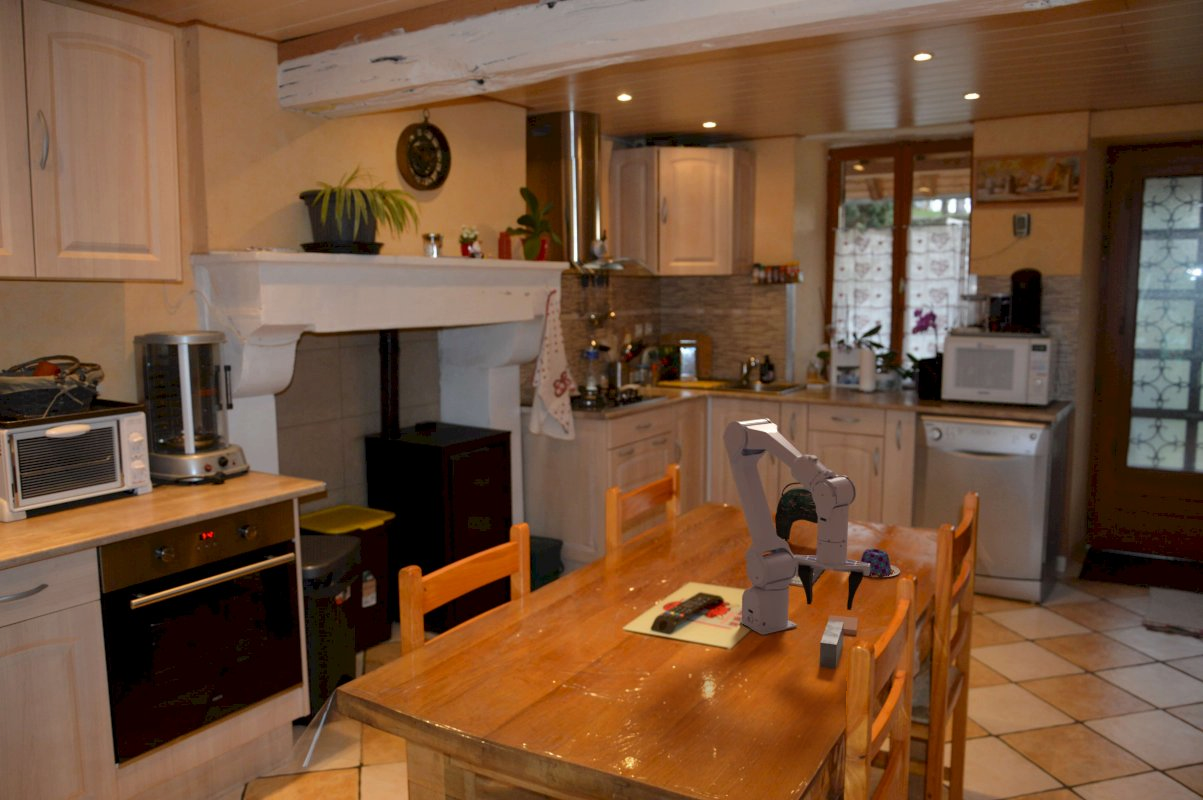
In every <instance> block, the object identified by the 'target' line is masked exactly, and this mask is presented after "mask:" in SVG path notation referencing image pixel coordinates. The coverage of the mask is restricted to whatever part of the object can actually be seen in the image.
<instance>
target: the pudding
mask: <svg viewBox="0 0 1203 800" xmlns="http://www.w3.org/2000/svg"><path fill="white" fill-rule="evenodd" d="M860 562H864V563H870V574H872V575H879V574H880V575H887V576H883V577H882V578H889V577H893V576H896V575H899V574H900V573H901V570H900V569H899V568H898V567H897V566H895V565H892V564H891V563H890V562H891V561H890V557H889V554H888V552H887V551H886V550H882V549H878V548H877V549H876V548H870V549H866V550H864V551H863V553H862V555H861V559H860ZM891 569H892V570H894V572H895V573H894V572H893V574H892V575H891V573H892V571H891ZM872 575H871V576H872ZM888 575H889V576H888ZM872 577H873V578H874V577H875V578H876V577H877V578H879V577H878V576H872Z"/></svg>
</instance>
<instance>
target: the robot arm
mask: <svg viewBox="0 0 1203 800" xmlns="http://www.w3.org/2000/svg"><path fill="white" fill-rule="evenodd" d="M722 440H723V443H724V446H725V450H726V453H727V456H728V460H729V466H730V469H731V472H732V476H733V480H734V484H735V487H736V491H737V494H738V498H739V500H740V504H741V508H742V511H743V512H742V513H743V515H744V518H745V522H746V525H747V528H748V532H749V536H750V538H751V539H750V540H751V544H750V545H749V547H748V549H747V550H746V551H745V553H744V556H745V559H746V575H747V577H748V579H749V581H750V583H751V586H750V587H748V588H746V589H745V590H744V591H743V592H742V593H743V594H742V595H741V619H740V620H738V622H740V623H739V624H741V623H742V624H741V625H743V624H744V625H746V626H748V627H750V628H751V629H750V628H749V629H750V630H753V631H754V632H756V633H758V634H760V635H762V636H763V635H769V634H772V633H776V632H781V631H784V630H789V629H793V628H797V626H798V625H797V623H795V622H794V621H791V620H789V601H790V600H789V599H790V597H789V596H790V585H789V584H792V578H794V577H795V576H796V574H797V572H798V576H799V578H800V580H801V582H802V584H803V589H804V593H805V597H806V604H807V605H812V602H813V597H814V596H813V595H814V593H813V592H814V591H813V586H812V582H813V570H814V568H817V569H825V571H827V570H828V571H836V572H844V573H849V575H848V596H847V603H846V610H847V611H852V608H853V602H854V598H855V595H856V592H857V590H858V588H859V586H860V584H861V583H862V581H863V579H864V576H866V577H870V576H869V574H870V563H864V562H861V561H858V560H854V559H849V558H847V556H848V531H849V530H848V529H849V511H850V508H849V507H850V505H851V504H853V503H854V501H855V500H856V496H857V489H856V486H855V484H854V482H853V481H852V480H851V478H850V477H849V476H847V475H845V474H844V475H841V474H840V475H838V474H835V472H834V471H833V470H832V469H829V468H828V467H826V466H825V465H824V464H823V463H822V462H820V461H819V460H818V459H819V458H818V456H816V455H815V454H802V453H801V452H800V451H799V450H798V449H797V448H796V447H795V446H793V444H792V443H791V442H789V441H788V440H787V439H786V438H785V437H784V436H783V435H782V434H781V433H780V432H779V427H778V425H777V424H776V423H773V422H772V420H771V419H770V418H768V417H761V418H755V419H748V420H740V421H739V420H738V421H737V420H734V421H730V422H729V423H728V425H726V427H725V430H724V433H723V435H722ZM767 452H768V453H770V454H772V455H773V456H774V457H775V458H777V459H778V460H779V461H780V462H782V463H783V464H785V465H786V466H787V467H789V468H790V473H791V476H792V478H793V479H794V480H796V481H797V482H798V483H800V484H799V485H801V486H803V487H805V488H806V489H807V490H809V491H810V492H811V493H812V497H813V501H814V503H815V505H816V513H817V516H818V524H817V531H816V533H817V534H816V555H814V554H813V555H812V554H811V555H807V554H806V555H804V554H794V553H793V552H792V551H791V547H790V546H789V543H788V542H787V541H786V540H783V539H781V538H780V537H778V536H777V533H776V526H775V525H774V520H773V517H772V513H771V510H770V507H769V503H768V500H767V497H766V495H765V491H764V486H763V483H762V480H761V477H760V473H759V470H758V466H757V465H758V463H759V460H760V459H762V458H763V457H764V456H765V454H766V453H767ZM764 553H765V554H764ZM744 625H743V626H744ZM746 626H745V627H746ZM748 627H747V628H748Z"/></svg>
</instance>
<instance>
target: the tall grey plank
mask: <svg viewBox="0 0 1203 800" xmlns="http://www.w3.org/2000/svg"><path fill="white" fill-rule="evenodd" d="M843 631H844V622H838V621H831V620H828V619H827V623H826V626H825V629H824V631H823V634H822V637H821V639H820V644H819V645H820V647H819V667H820V668H825V669H832V670H836V669H837V666H838V663H839V659H840V657H841V653H842V650H843V646H844V634H843Z"/></svg>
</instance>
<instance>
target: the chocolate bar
mask: <svg viewBox="0 0 1203 800" xmlns="http://www.w3.org/2000/svg"><path fill="white" fill-rule="evenodd" d="M824 570H825V569H817V568H814V570H813V582H812V587H813V586H814V585H815V584H816V582H817V581H818V580H819V579H820V577H821V576H822V575H823V574H824V572H825V571H826V570H825V571H824ZM821 574H822V575H821ZM820 575H821V576H820ZM817 579H818V580H817ZM814 583H815V584H814ZM795 585H797V586H796V587H802V586H803V584H802V582H801V580H800V578H799V576H798V572H797V574H796V576H795V577H794V578H792V584H790V585H789V586H795Z"/></svg>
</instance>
